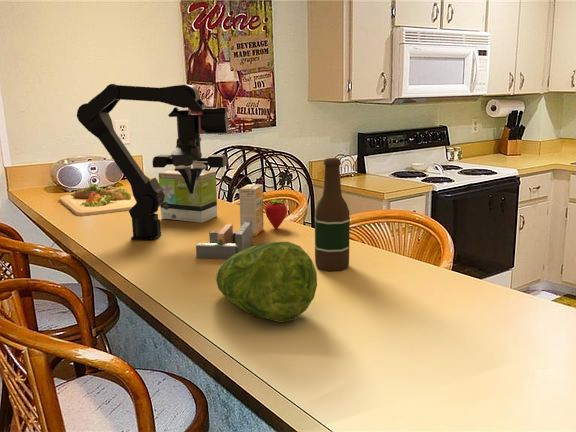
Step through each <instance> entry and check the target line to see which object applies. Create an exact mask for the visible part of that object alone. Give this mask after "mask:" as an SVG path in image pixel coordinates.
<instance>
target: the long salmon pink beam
mask: <svg viewBox="0 0 576 432" xmlns="http://www.w3.org/2000/svg"><path fill="white" fill-rule="evenodd" d="M233 228H234V227H233V223H226V224H225V225H224V226H223V227H222V228H221V229H220V230H219V231H220V232H219V233H218V234H217V237H218V242H217V244H220V243H227V244H233V232H234V229H233Z"/></svg>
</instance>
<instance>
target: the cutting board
mask: <svg viewBox="0 0 576 432" xmlns="http://www.w3.org/2000/svg"><path fill="white" fill-rule="evenodd" d="M88 186H89V187H84V188H82V187H81V188H78V189H77V191H73V192H72V193H70V194H69V195H68V194H67V195H62V196H60V197H59V198H58V199H59V202H60V203H61V204H63V205H64V206H65V208H68V209H69V211H71V212H73V213H74V214H75V215H76V216H79V217H81V216H82V217H85V216H86V217H87V216H95V215H103V214H111V213H118V212H119V213H120V212H126V211H127V212H129V210H130V209H131V208H132V207H133V206H134V205H135V204H136V203H137V202H136V200H135V198H134V196H133V195H132V194H131V193H130V192H128V189H126V188H125V187H120V188H119V187H114V186H110V185H109V186H107V187H105V188H103V187H98V186H99V184H98V183H93V184H90V185H88Z"/></svg>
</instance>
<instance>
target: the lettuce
mask: <svg viewBox="0 0 576 432" xmlns="http://www.w3.org/2000/svg"><path fill="white" fill-rule="evenodd" d="M215 275H216V276H215V281H216V282H215V283H216V285H217V289H218V290H219V291H220V292H221V294H222V295H223V296H224V298H225V299H226V300H228V302H231V303H232V304H234V305H235V306H237V307H238V308H240V309H242V311H243V312H245V313H248V314H249V315H251V316H253V317H257V318H262V319H267V320H270V321H275V322H279V323H284V322H289V321H293V320H295V319H297V318H298V317H300V315H302V314H304V312H306V310H307V309H308V308H309V306H310V304H311V303H312V302H313V300H314V298H315V295H316V291H317V287H318V278H317V270H316V268H315V264H314V262H313V260H312V258H311V257H310V255H309V254H308V253H307V252H306V251H305V249H303V248H302V247H301V246H300V245H297V244H295V243H293V242H290V241H274V242H273V241H272V242H265V243H261V244H256V245H253V246H252V245H251V247H249V248H247V249H245V250H243V251H240V252H238V253H236V254H234V255H233V256H232V257H230V258H229V259H225V261H224V262H223V263H222V264H221V265H220V267H219V268H218V270H217V273H216V274H215Z"/></svg>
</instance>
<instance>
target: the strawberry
mask: <svg viewBox="0 0 576 432" xmlns="http://www.w3.org/2000/svg"><path fill="white" fill-rule="evenodd" d="M278 197H279V194H277V196H276V198H278ZM285 202H286V200H285V199H284V200H282V199H280V200H278V199H270V200H268V201H267V204H266V205H265V208H264V212H265V215H266V218H267V219H268V221H269V223H270V224H271V226H272V227H273V229H274V230H275V229H278V228H279V227H280V226H281V224H283V222H284V220H285V219H286V217H287V213H288V207H287V206H286V204H285Z"/></svg>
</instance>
